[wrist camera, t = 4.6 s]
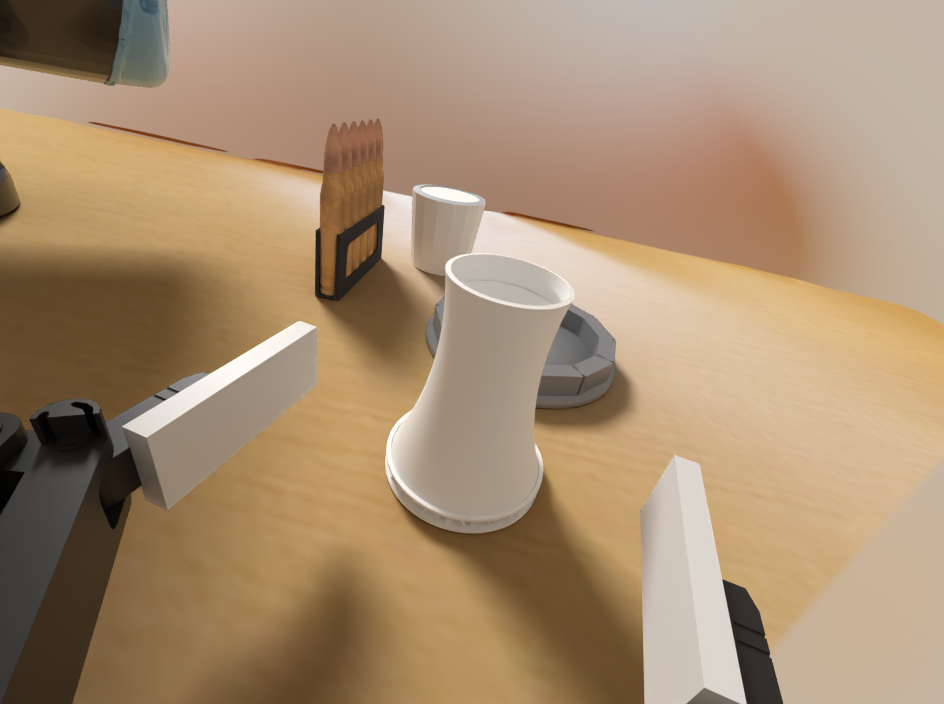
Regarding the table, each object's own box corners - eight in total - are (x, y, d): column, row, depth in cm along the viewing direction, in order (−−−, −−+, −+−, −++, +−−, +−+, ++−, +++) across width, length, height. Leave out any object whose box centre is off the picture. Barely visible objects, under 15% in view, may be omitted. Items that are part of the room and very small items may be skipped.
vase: (399, 549, 17) (436, 328, 11) (375, 418, 22) (392, 233, 17) (564, 519, 19) (655, 330, 14) (504, 410, 25) (553, 247, 20)
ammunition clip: (337, 301, 32) (342, 127, 26) (314, 296, 32) (312, 120, 26) (381, 257, 42) (392, 120, 35) (363, 253, 42) (370, 115, 35)
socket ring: (391, 361, 27) (394, 333, 26) (463, 288, 39) (467, 267, 38) (608, 438, 25) (621, 411, 24) (614, 336, 36) (624, 315, 35)
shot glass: (467, 256, 46) (480, 190, 43) (477, 282, 41) (492, 209, 37) (404, 248, 45) (411, 179, 41) (405, 274, 39) (414, 196, 36)
